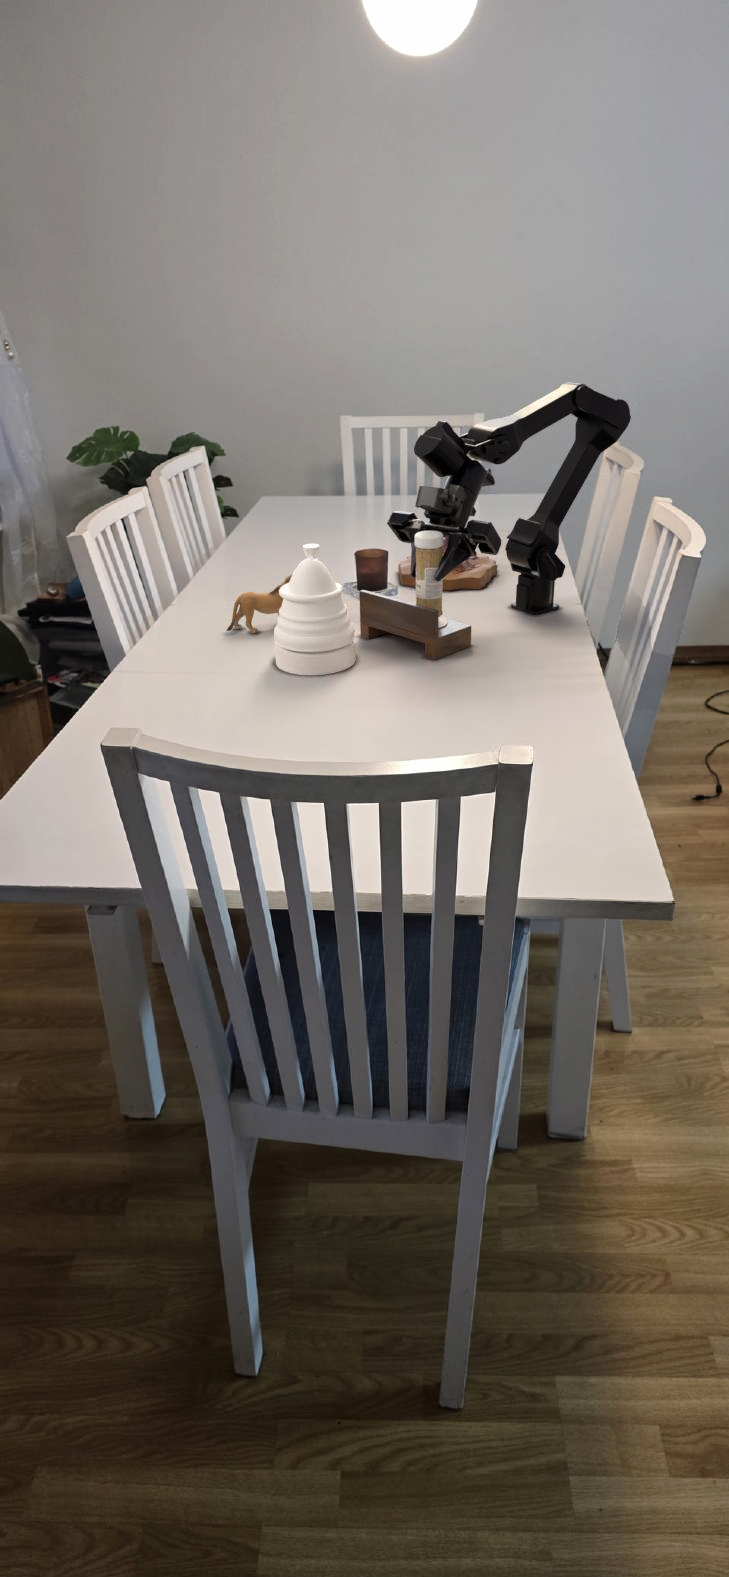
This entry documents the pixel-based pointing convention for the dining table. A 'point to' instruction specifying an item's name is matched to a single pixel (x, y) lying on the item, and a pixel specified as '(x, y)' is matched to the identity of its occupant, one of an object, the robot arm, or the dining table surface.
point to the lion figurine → (256, 606)
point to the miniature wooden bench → (412, 624)
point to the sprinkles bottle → (428, 569)
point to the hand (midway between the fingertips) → (424, 578)
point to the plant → (457, 572)
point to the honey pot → (313, 622)
